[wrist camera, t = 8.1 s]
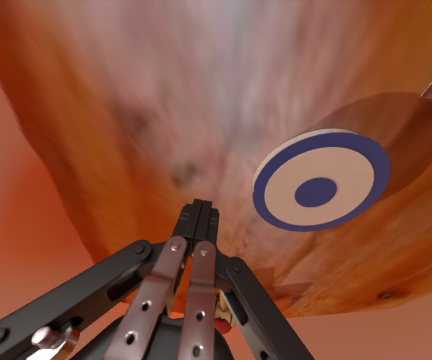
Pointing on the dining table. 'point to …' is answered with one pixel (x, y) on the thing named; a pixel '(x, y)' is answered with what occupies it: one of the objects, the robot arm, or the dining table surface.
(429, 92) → the juice carton
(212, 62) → the dining table surface
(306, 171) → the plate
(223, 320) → the kendama
